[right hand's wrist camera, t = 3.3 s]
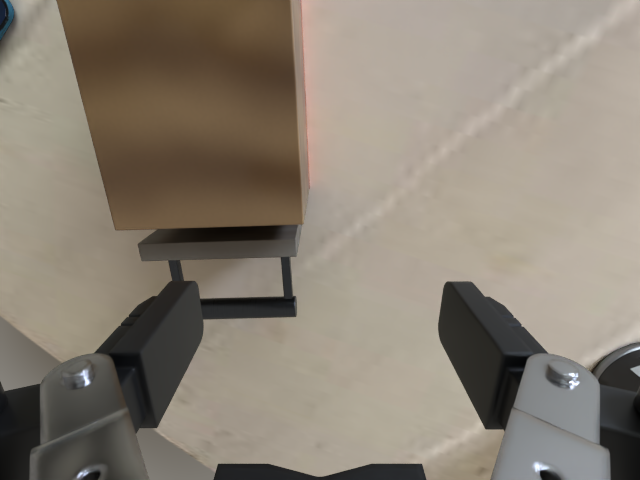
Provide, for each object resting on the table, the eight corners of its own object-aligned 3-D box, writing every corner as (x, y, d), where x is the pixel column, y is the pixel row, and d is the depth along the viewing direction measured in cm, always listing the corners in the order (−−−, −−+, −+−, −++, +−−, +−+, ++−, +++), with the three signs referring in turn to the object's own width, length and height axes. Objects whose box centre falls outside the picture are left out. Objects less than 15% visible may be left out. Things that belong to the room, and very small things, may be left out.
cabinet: (309, 187, 30) (303, 225, 20) (181, 191, 30) (114, 231, 20) (298, -60, 24) (282, -177, 14) (138, -53, 24) (13, -164, 14)
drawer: (306, 277, 32) (301, 333, 24) (199, 280, 32) (159, 337, 24) (291, -3, 24) (276, -58, 16) (151, 3, 24) (68, -49, 16)
